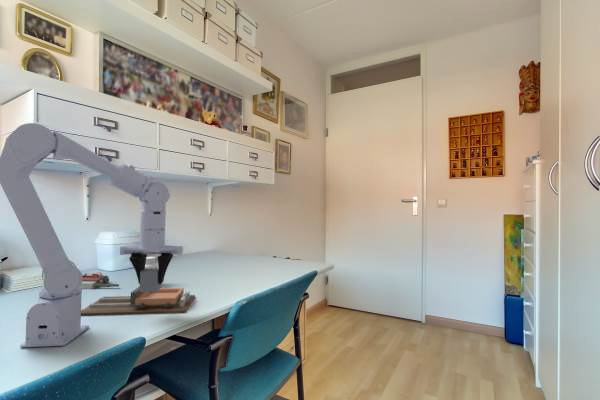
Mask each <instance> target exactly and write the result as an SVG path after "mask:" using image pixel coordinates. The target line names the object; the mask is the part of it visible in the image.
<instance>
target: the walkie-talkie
mask: <svg viewBox="0 0 600 400" xmlns="http://www.w3.org/2000/svg"><path fill="white" fill-rule="evenodd" d="M82 276H83V280H82V283H81V285H80V288H82V290H93V289H96V288H113V287H114V288H115V287H120V284H118V283H109V282H110V278H109V276H108V275H103V273H102V272H100V271H99V272H94V271H93V272H92V271H91V272H87V273H84V274H82Z"/></svg>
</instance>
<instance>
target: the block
mask: <svg viewBox="0 0 600 400" xmlns="http://www.w3.org/2000/svg"><path fill="white" fill-rule="evenodd" d="M158 274H159V267H157V268H146V269H144V270H142V271H140V284H139V286H140V292H157V291H158V290H159V289H162V286H163V283H162V284H158Z"/></svg>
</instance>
